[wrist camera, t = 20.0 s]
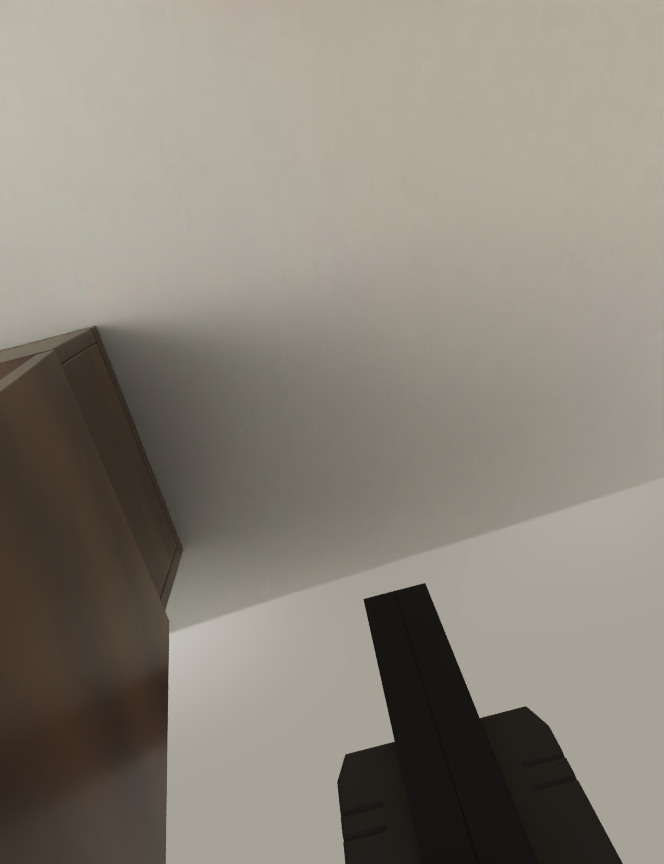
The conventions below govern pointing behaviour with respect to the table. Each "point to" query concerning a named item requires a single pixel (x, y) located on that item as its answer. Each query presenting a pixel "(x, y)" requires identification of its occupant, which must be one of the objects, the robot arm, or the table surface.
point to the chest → (113, 445)
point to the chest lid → (74, 645)
